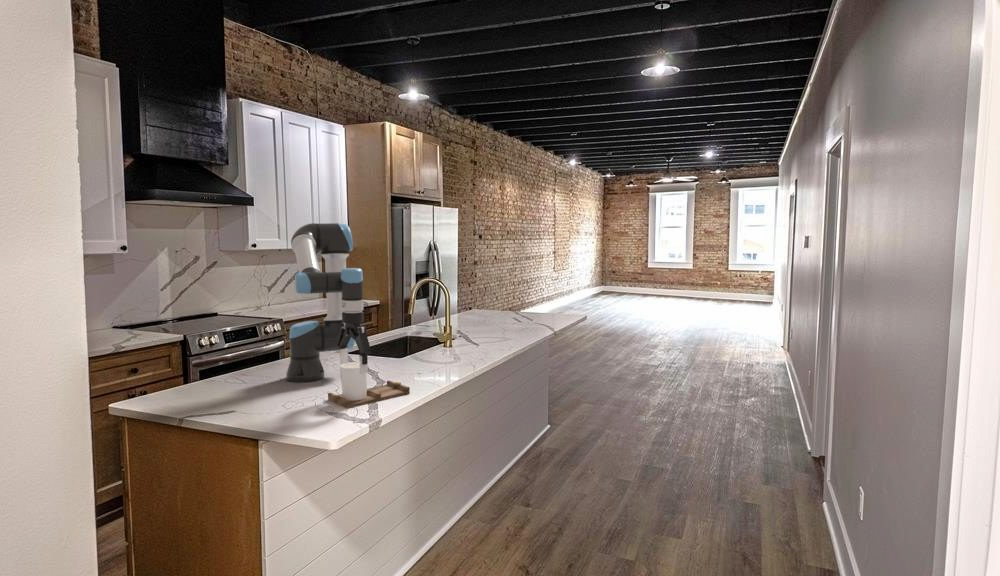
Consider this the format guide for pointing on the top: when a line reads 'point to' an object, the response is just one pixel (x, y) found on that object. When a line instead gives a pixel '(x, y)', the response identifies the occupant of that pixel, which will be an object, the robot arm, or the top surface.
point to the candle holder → (353, 381)
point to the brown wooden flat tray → (373, 394)
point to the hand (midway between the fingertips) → (353, 369)
